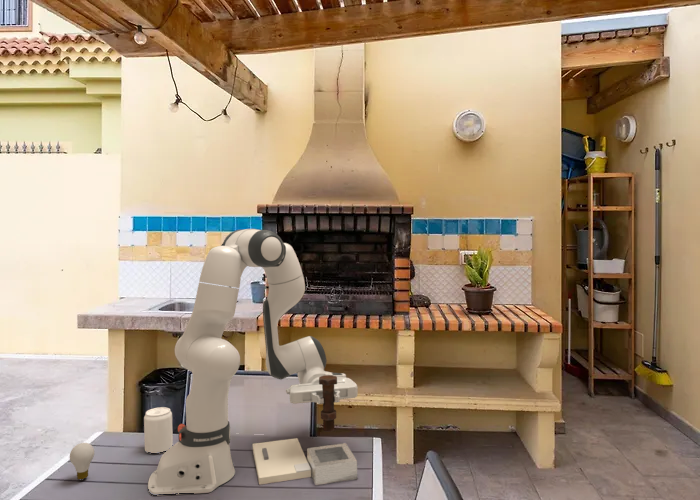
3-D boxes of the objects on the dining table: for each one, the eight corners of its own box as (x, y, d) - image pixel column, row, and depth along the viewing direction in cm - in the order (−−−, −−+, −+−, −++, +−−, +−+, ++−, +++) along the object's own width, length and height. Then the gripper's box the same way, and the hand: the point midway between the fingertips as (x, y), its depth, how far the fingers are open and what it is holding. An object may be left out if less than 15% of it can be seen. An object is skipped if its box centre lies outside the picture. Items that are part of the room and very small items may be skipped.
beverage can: (142, 456, 144) (142, 417, 144) (146, 445, 152) (145, 408, 152) (171, 453, 146) (170, 414, 146) (173, 442, 154) (173, 405, 154)
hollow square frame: (315, 485, 126) (315, 466, 126) (307, 465, 137) (307, 448, 137) (357, 478, 130) (357, 460, 129) (345, 459, 141) (345, 443, 140)
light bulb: (99, 477, 132) (98, 441, 132) (78, 487, 127) (77, 450, 126) (87, 472, 135) (86, 437, 135) (65, 481, 130) (64, 445, 129)
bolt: (337, 434, 132) (336, 379, 132) (319, 434, 132) (318, 380, 132) (337, 426, 138) (337, 374, 138) (320, 426, 138) (319, 374, 138)
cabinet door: (259, 484, 127) (259, 475, 127) (252, 449, 148) (252, 441, 148) (311, 476, 131) (310, 467, 131) (297, 443, 152) (297, 435, 152)
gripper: (284, 378, 145) (292, 392, 131) (349, 372, 150) (363, 386, 137) (284, 399, 145) (292, 415, 131) (349, 392, 151) (363, 407, 137)
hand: (329, 400), depth 134 cm, fingers closed on bolt, 3 cm apart
